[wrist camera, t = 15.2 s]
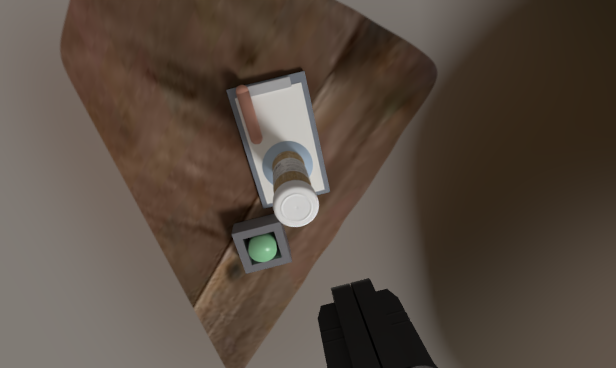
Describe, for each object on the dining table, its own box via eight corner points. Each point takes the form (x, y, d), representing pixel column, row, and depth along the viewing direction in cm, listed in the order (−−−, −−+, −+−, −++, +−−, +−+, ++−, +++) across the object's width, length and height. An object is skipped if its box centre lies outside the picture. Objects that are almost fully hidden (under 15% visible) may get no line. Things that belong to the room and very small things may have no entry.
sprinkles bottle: (289, 187, 43) (297, 236, 31) (264, 167, 42) (263, 211, 29) (311, 163, 42) (329, 205, 30) (287, 142, 41) (294, 177, 29)
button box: (233, 223, 45) (231, 234, 43) (279, 212, 46) (280, 221, 43) (247, 261, 48) (246, 273, 45) (290, 250, 48) (291, 261, 45)
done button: (246, 231, 46) (244, 242, 43) (272, 224, 46) (272, 235, 43) (253, 253, 47) (253, 265, 44) (279, 246, 47) (279, 258, 44)
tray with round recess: (226, 89, 38) (225, 90, 37) (303, 71, 39) (304, 71, 38) (263, 206, 45) (263, 210, 44) (329, 190, 45) (330, 193, 44)
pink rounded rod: (234, 85, 37) (233, 87, 36) (247, 82, 37) (246, 84, 36) (252, 143, 41) (252, 147, 39) (264, 140, 41) (264, 144, 39)
